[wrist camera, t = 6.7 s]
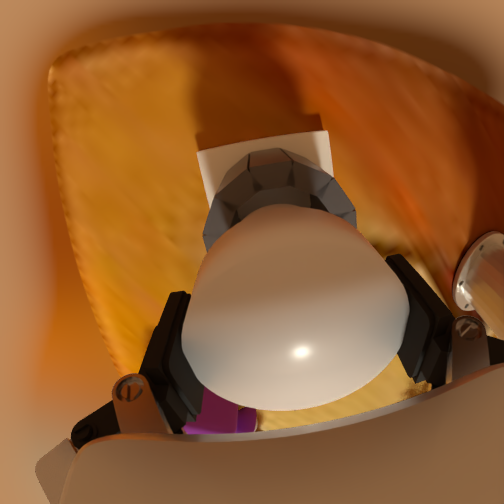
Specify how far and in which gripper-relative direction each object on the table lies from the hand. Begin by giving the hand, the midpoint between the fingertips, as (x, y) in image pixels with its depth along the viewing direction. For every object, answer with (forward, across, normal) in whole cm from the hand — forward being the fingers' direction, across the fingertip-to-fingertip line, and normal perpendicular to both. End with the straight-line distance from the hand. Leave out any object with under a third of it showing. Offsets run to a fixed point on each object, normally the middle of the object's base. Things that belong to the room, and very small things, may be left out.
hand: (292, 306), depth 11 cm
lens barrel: (+16, 0, 0) cm, 16 cm away
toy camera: (+16, +13, +28) cm, 35 cm away
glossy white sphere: (+4, 0, 0) cm, 4 cm away
